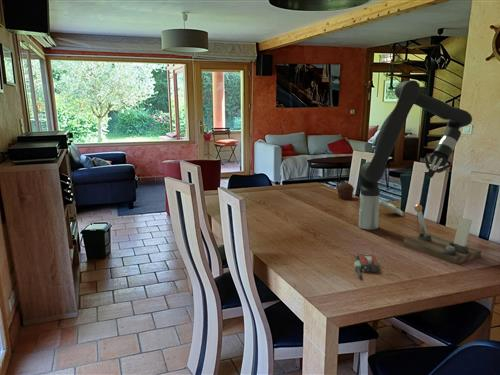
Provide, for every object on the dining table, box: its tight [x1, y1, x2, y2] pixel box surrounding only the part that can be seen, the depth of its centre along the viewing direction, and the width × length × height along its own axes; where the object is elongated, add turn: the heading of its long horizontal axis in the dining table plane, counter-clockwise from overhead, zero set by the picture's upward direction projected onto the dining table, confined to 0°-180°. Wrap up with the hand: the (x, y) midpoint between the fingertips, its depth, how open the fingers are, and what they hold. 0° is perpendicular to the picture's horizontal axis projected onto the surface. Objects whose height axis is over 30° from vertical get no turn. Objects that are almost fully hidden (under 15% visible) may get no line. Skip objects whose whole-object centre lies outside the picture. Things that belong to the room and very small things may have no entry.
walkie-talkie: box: [353, 253, 380, 279], centre depth 149 cm, size 9×4×20 cm
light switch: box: [379, 198, 404, 217], centre depth 225 cm, size 8×6×14 cm
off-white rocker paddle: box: [453, 217, 473, 249], centre depth 160 cm, size 1×4×12 cm, turn 28°
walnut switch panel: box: [403, 232, 482, 265], centre depth 167 cm, size 16×25×5 cm, turn 28°
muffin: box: [336, 182, 355, 200], centre depth 266 cm, size 12×11×10 cm
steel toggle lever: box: [413, 203, 429, 237], centre depth 171 cm, size 3×3×17 cm
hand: (428, 177), depth 189 cm, fingers closed
